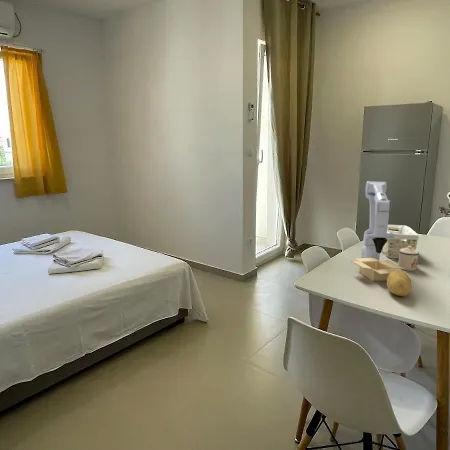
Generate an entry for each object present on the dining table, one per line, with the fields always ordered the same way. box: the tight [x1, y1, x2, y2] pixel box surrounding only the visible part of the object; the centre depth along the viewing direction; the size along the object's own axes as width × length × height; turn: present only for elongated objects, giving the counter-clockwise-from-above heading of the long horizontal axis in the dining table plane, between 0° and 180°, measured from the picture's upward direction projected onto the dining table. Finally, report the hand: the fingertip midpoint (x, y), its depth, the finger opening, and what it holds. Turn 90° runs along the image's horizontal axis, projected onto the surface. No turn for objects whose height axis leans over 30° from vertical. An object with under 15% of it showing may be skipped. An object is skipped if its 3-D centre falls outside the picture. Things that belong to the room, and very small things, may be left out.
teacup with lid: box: [397, 246, 420, 271], centre depth 187 cm, size 12×9×12 cm
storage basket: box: [381, 224, 419, 259], centre depth 211 cm, size 24×16×15 cm
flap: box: [351, 260, 372, 270], centre depth 172 cm, size 10×5×1 cm, turn 10°
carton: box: [354, 257, 403, 282], centre depth 175 cm, size 22×15×8 cm
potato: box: [386, 269, 413, 297], centre depth 153 cm, size 10×14×10 cm
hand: (378, 252), depth 177 cm, fingers closed
